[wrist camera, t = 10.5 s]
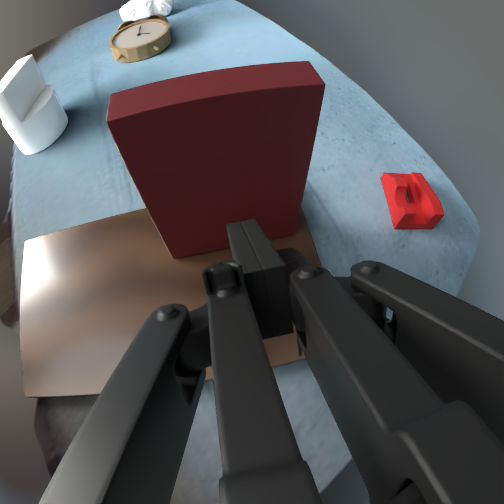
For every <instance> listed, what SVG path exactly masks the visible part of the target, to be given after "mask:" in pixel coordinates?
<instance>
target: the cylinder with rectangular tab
mask: <svg viewBox="0 0 504 504" xmlns="http://www.w3.org/2000/svg"><path fill="white" fill-rule="evenodd" d="M0 118H1V119H2V121H3V126H4V127H5V129H6V130H7V131H8V133H9V134H10V136H11V137H12V139H13V140H14V142H15V143H16V145H17V146H18V147H19V149H20V150H21V151H22V153H23V154H26V155H32V154H35V153H38V152H40V151H42V150H44V149H46V148H47V147H48V146H50V145H51V144H52V143H53V142H54V141H56V140H57V139H58V138H59V136H60V135H61V134H62V133H63V131H64V130H65V128H66V126H67V123H68V117H67V115H66V113H65V111H64V109H63V107H62V105H61V103H60V101H59V99H58V97H57V95H56V93H55V91H54V89H53V87H52V86H50V85H46V83H45V81H44V78H43V76H42V74H41V72H40V70H39V68H38V66H37V64H36V62H35V60H34V57H33V55H29V56H26V57H24V58H22V59H20V60H18V61H17V62H16V63H15V64H14V66H13V67H12V68H11V69H10V70H9V71H8V73H7V74H6V75H5V76H4V78H3V79H2V80H1V81H0Z"/></svg>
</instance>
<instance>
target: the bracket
mask: <svg viewBox="0 0 504 504" xmlns="http://www.w3.org/2000/svg"><path fill="white" fill-rule="evenodd" d="M381 181H382V185H383V188H384V192H385V195H386V199H387V203H388V206H389V210H390V214H391V218H392V222H393V226H394V229H432V228H433V227H434V226H435V225H436V224H437V223H438V222H439V221H440V219H441V218H442V217H443V216H444V215H445V214H444V211H443V208H442V205H441V202H440V200H439V199H438V197H437V196H436V194H435V193H434V191H433V190H432V188H431V187H430V185H429V184H428V182H427V181H426V179H425V178H424V176H423V175H422V174H421V173H413V172H412V173H411V174H397V173H383V175H382V177H381ZM406 192H407V195H408V199H409V202H410V203H409V202H408V201H407V199H406Z"/></svg>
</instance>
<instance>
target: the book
mask: <svg viewBox="0 0 504 504" xmlns="http://www.w3.org/2000/svg"><path fill="white" fill-rule="evenodd" d="M324 89H325V83H324V82H323V80H322V79H321V77H320V76H319V75H318V73H317V72H316V70H315V69H314V68H313V66H312V65H311V63H310V62H309V61H299V62H283V63H270V64H260V65H250V66H242V67H234V68H227V69H220V70H214V71H208V72H202V73H196V74H191V75H186V76H181V77H176V78H171V79H167V80H163V81H158V82H154V83H150V84H146V85H142V86H138V87H134V88H131V89H127V90H124V91H120V92H117V93H113V94H111V95H110V100H109V106H108V112H107V118H106V124H107V126H108V128H109V130H110V133H111V135H112V137H113V139H114V142H115V144H116V146H117V148H118V150H119V152H120V155H121V157H122V159H123V161H124V163H125V165H126V167H127V170H128V172H129V174H130V176H131V178H132V180H133V182H134V184H135V186H136V188H137V190H138V192H139V194H140V196H141V198H142V200H143V202H144V204H145V206H146V208H147V210H148V212H149V214H150V216H151V218H152V220H153V222H154V224H155V226H156V228H157V230H158V231H159V233H160V235H161V237H162V239H163V241H164V243H165V245H166V247H167V248H168V250H169V252H170V254H171V256H172V257H173V259H176V258H181V257H186V256H191V255H195V254H200V253H205V252H210V251H215V250H220V249H224V248H229V247H230V242H229V237H228V232H227V226H226V224H230V223H235V222H241V221H246V220H251V219H255V220H256V222H257V223H258V225H259V226H260V228H261V229H262V231H263V232H264V233H265V235H266V236H267V238H268V239H273V238H278V237H283V236H288V235H293V234H295V229H296V225H297V221H298V216H299V212H300V207H301V203H302V198H303V194H304V189H305V184H306V180H307V175H308V170H309V165H310V161H311V156H312V151H313V146H314V141H315V136H316V131H317V126H318V121H319V116H320V111H321V105H322V100H323V95H324Z"/></svg>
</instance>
